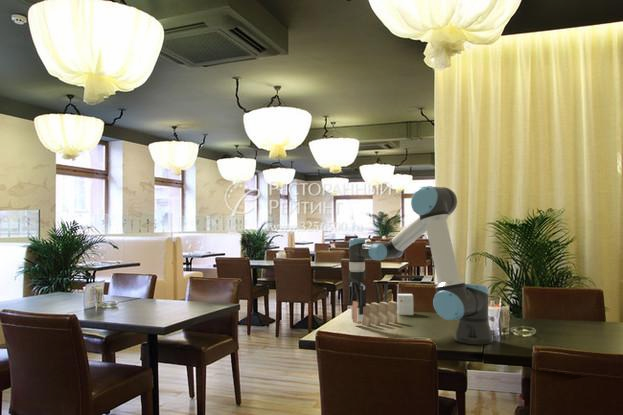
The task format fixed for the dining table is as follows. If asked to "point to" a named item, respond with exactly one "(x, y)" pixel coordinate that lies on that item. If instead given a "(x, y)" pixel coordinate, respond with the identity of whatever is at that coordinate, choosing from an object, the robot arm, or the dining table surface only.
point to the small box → (405, 304)
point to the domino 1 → (355, 312)
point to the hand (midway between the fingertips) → (357, 320)
